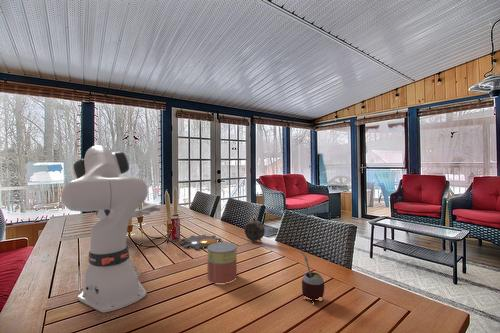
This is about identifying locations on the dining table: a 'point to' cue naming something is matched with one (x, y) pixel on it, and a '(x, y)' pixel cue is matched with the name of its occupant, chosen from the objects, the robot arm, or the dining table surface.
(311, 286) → the mate gourd
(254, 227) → the alarm clock
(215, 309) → the dining table surface
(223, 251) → the canned food
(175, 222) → the soda can
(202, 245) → the sprocket plate
